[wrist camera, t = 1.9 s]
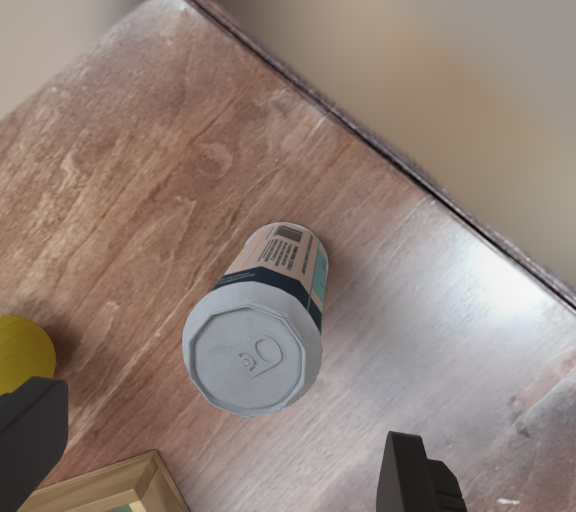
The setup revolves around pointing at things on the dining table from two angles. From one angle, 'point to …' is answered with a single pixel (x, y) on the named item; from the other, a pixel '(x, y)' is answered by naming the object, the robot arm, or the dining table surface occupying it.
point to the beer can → (261, 324)
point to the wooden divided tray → (113, 490)
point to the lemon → (23, 352)
